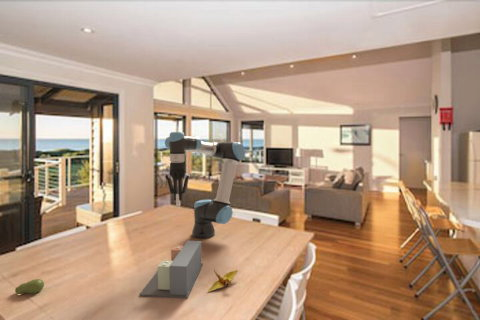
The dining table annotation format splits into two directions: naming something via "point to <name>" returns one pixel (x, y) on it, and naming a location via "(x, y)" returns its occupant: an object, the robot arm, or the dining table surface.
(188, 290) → the console
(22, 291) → the pear
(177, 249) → the button one
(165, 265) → the button two
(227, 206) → the robot arm
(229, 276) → the origami crane
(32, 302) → the dining table surface
